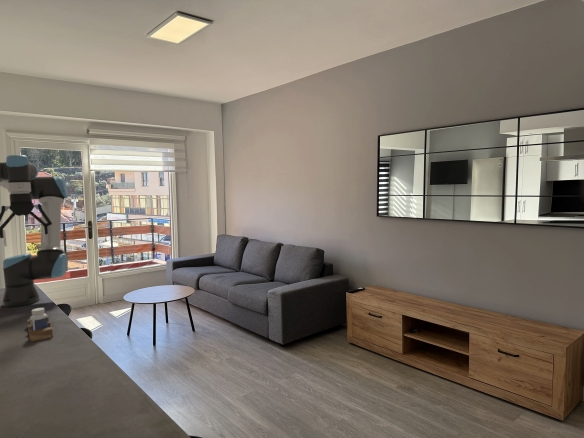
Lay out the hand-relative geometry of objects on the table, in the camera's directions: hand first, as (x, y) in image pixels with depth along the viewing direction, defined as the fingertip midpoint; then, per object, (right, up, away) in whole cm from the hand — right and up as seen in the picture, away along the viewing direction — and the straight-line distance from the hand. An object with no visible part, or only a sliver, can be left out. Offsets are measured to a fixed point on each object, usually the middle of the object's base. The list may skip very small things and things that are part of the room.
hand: (25, 244), depth 169 cm
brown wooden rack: (+15, -32, -15) cm, 39 cm away
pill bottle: (+18, -33, -18) cm, 41 cm away
